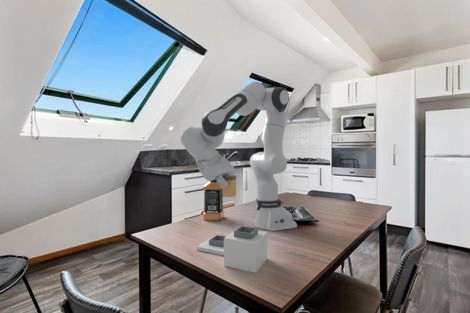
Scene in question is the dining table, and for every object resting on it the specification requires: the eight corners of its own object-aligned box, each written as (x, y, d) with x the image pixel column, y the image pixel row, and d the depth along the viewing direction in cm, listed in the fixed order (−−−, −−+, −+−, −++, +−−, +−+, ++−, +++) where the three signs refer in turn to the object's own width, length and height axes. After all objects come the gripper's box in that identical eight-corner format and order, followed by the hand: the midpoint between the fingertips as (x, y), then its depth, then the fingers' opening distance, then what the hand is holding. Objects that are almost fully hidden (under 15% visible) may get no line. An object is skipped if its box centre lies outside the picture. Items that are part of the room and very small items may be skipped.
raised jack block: (238, 253, 101) (238, 223, 101) (267, 258, 96) (267, 227, 96) (224, 265, 91) (223, 232, 90) (255, 272, 85) (255, 237, 85)
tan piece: (227, 194, 104) (226, 175, 104) (236, 195, 102) (235, 175, 102) (222, 196, 100) (222, 176, 100) (231, 197, 99) (231, 176, 98)
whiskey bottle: (224, 216, 154) (223, 163, 153) (220, 221, 145) (219, 164, 143) (207, 215, 156) (206, 163, 155) (202, 220, 147) (202, 164, 145)
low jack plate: (213, 238, 117) (213, 231, 117) (241, 243, 111) (241, 235, 111) (196, 250, 105) (196, 241, 104) (227, 256, 99) (226, 247, 98)
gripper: (199, 155, 94) (223, 182, 90) (224, 153, 113) (245, 176, 109) (189, 166, 96) (212, 194, 93) (216, 163, 115) (236, 186, 111)
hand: (230, 184), depth 101 cm, fingers closed on tan piece, 4 cm apart
